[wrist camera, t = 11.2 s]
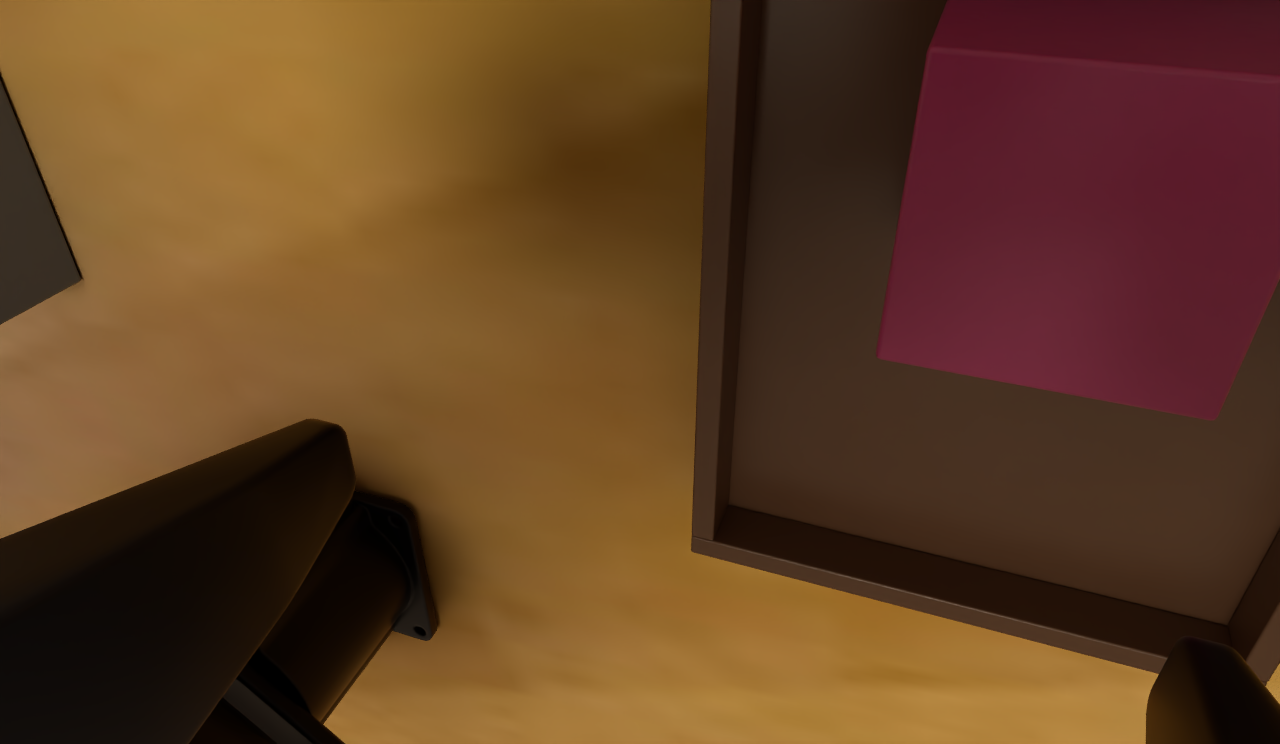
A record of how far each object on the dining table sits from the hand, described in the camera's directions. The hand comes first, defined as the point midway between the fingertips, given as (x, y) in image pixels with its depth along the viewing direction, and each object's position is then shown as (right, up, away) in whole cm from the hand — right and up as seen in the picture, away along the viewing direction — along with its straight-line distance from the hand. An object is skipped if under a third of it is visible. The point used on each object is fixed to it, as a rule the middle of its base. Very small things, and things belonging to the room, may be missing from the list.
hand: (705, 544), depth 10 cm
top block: (+7, +6, +7) cm, 12 cm away
